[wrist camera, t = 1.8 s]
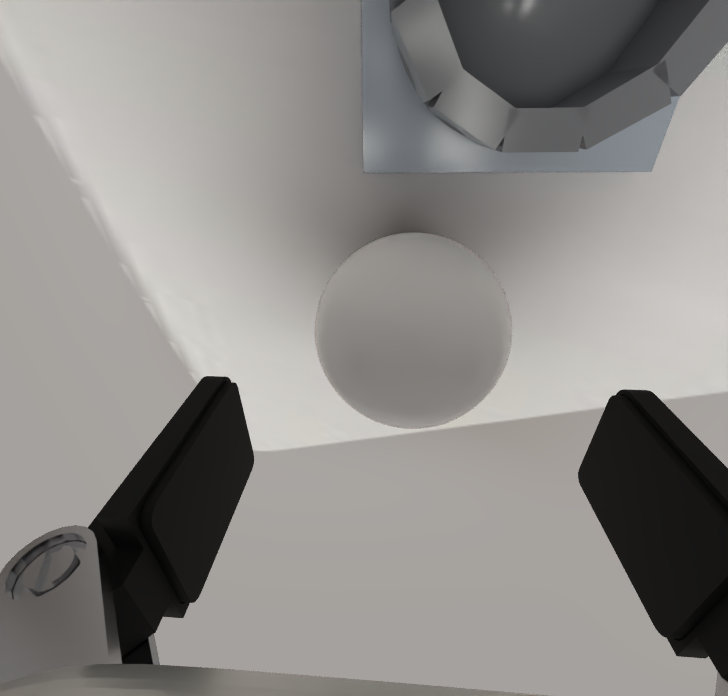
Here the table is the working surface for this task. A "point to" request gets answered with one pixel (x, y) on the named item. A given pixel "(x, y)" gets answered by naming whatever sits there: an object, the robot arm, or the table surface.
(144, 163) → the table surface
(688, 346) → the table surface
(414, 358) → the lightbulb
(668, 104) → the socket
